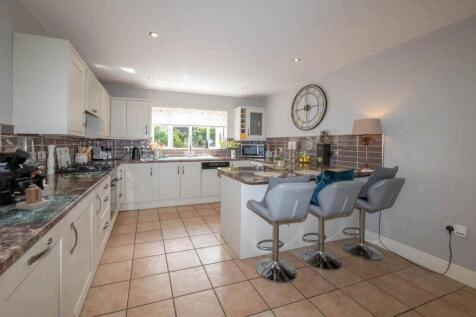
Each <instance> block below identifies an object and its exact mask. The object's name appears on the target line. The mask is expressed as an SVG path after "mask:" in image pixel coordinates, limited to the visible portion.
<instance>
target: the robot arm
mask: <svg viewBox="0 0 476 317" xmlns="http://www.w3.org/2000/svg"><path fill="white" fill-rule="evenodd" d="M30 157H31V153H30V152H28V151H26V150H23V149H22V148H18V149H17V148H16V150H15V151H14V152H13V151H10V152H7V151H5V152H0V164H5V167H4V171H8V172H9V173H10V174H11V175H5V176H4V175H2V173H0V206H8V205H12V204H14V203H17V202H18V201H17V200H16V194H15V192H16V193H17V192H18V193H20V194H22V195H26V194H25V189H24V187H22V186H21V184H20V183H27V182H32V181H33V182H34V183H35V185H36V186H38V187H39V188H41V190H44V185H45V184H44V185H43V180H44V179H45V180H46V178H47V176H48V175H47V174H46V173H45V172H40V173H36V174H35V175H34V172H37V171H38V170H39V166H38V164H32V165H25V164H26V163H27V161H28V159H30ZM23 165H25V166H23ZM33 175H34V176H33Z"/></svg>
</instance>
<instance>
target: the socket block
mask: <svg viewBox="0 0 476 317" xmlns="http://www.w3.org/2000/svg"><path fill="white" fill-rule="evenodd" d="M15 205H16V206H15V207H16V209H17V210H18V209H20V210H30V211H32V210H35V209H36V210H37V209H39V208H42V207H43V208H44V207H47V206H51V205H52V200H51V199H42V202H38V203H34V204H27V203H26V201H22V202H18V203H17V202H16V204H15Z"/></svg>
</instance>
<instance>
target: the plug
mask: <svg viewBox="0 0 476 317" xmlns="http://www.w3.org/2000/svg"><path fill="white" fill-rule="evenodd" d="M24 191H25V194H24V195H25V202H26V203H27V204H34V203H38V202H42V198H43V197H41V188H37V187H33V188H29V187H27V188H25V189H24Z"/></svg>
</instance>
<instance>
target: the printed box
mask: <svg viewBox="0 0 476 317" xmlns="http://www.w3.org/2000/svg"><path fill="white" fill-rule="evenodd" d="M43 185H44V190H41V198H44V197H49V196H50V186H49V184H46V178H45V179H44V180H43ZM33 187H37V188H39V187H38V186H36V185H35V183H34V182H33V181H31V185H28V188H33Z"/></svg>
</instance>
